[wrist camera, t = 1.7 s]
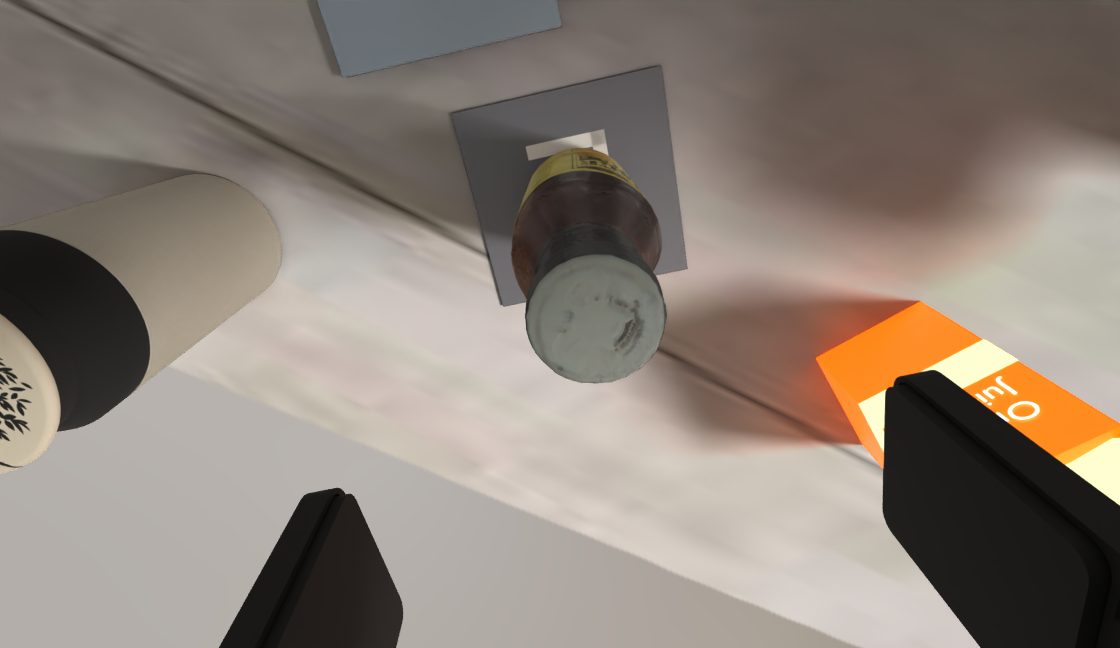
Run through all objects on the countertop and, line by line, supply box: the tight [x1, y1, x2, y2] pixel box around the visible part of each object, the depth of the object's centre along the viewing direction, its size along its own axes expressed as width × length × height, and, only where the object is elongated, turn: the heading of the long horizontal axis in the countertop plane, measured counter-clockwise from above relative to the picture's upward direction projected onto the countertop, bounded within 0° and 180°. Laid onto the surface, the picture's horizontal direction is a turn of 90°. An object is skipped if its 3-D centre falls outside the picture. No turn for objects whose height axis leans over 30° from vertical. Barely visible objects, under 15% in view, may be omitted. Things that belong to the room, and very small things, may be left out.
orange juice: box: [816, 301, 1120, 505], centre depth 31 cm, size 8×9×20 cm
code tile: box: [451, 66, 688, 307], centre depth 35 cm, size 12×12×1 cm
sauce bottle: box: [511, 148, 667, 383], centre depth 25 cm, size 6×6×20 cm
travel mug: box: [0, 174, 282, 474], centre depth 27 cm, size 8×8×18 cm
